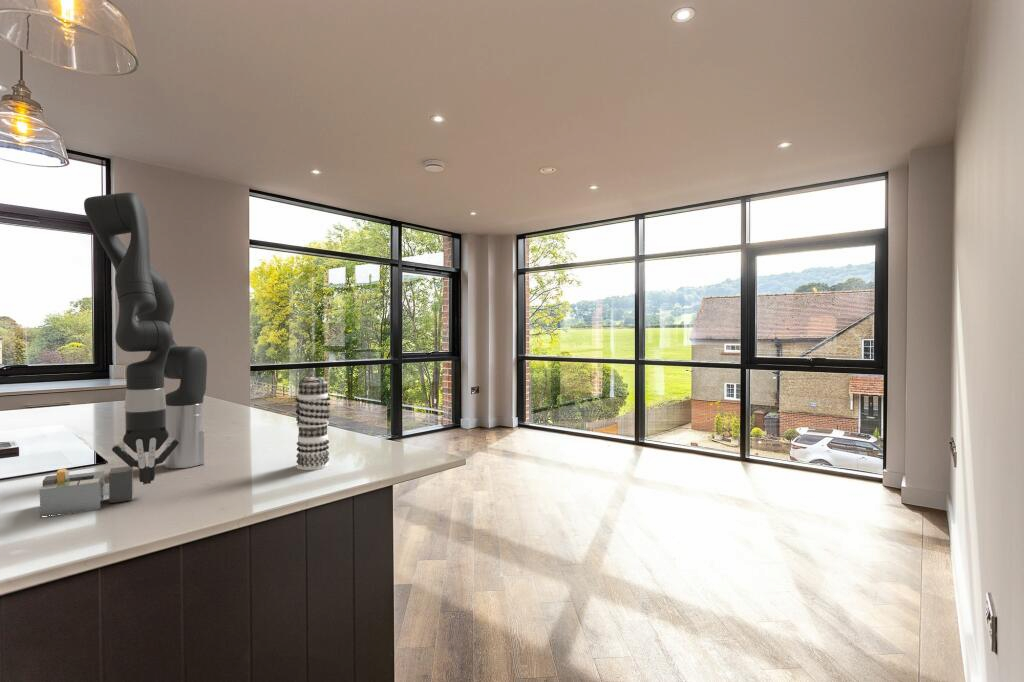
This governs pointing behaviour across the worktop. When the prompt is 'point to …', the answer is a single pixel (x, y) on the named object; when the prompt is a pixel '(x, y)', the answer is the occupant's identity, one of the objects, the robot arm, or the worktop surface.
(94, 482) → the gauge housing
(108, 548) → the worktop surface
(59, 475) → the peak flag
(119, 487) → the dark cube on shaft
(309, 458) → the decorative candle
